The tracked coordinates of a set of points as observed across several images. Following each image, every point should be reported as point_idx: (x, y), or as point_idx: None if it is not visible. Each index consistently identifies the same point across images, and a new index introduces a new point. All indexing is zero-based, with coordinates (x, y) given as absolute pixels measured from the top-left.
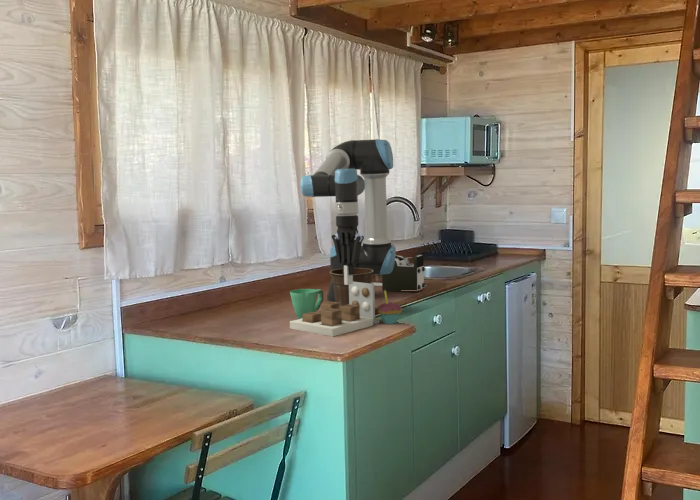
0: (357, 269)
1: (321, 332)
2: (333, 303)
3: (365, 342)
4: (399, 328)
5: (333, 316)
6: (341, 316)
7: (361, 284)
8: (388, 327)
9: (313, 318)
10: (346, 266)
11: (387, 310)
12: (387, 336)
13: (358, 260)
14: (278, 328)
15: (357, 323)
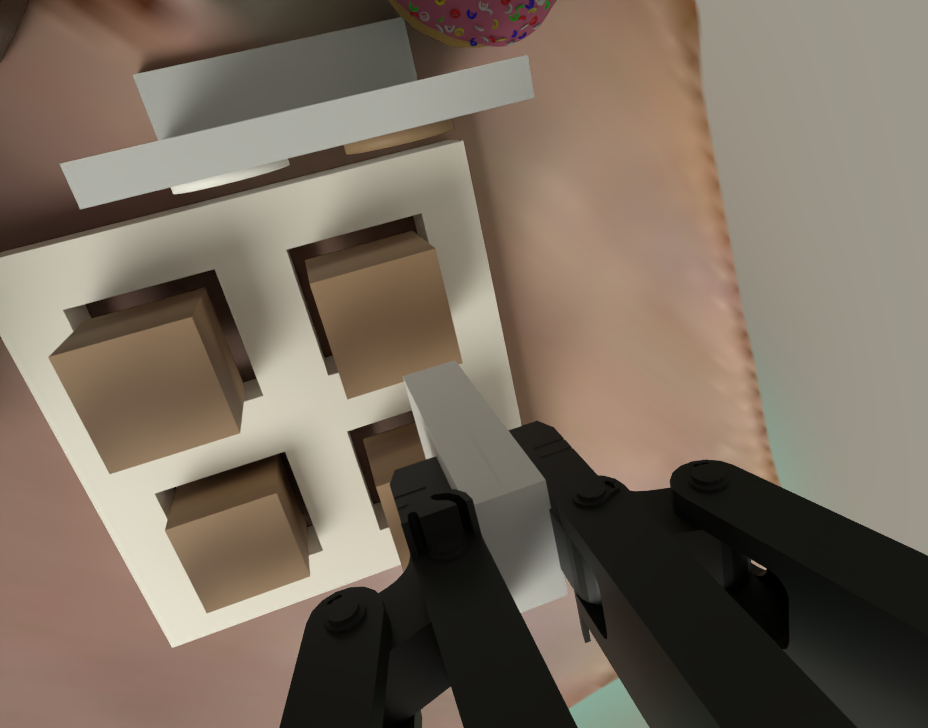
0: None
1: None
2: (182, 381)
3: (725, 411)
4: (637, 44)
5: None
6: None
7: (339, 144)
8: (564, 84)
9: (306, 554)
10: (548, 590)
11: (547, 13)
12: (723, 250)
13: (762, 487)
14: (129, 664)
15: (494, 306)
